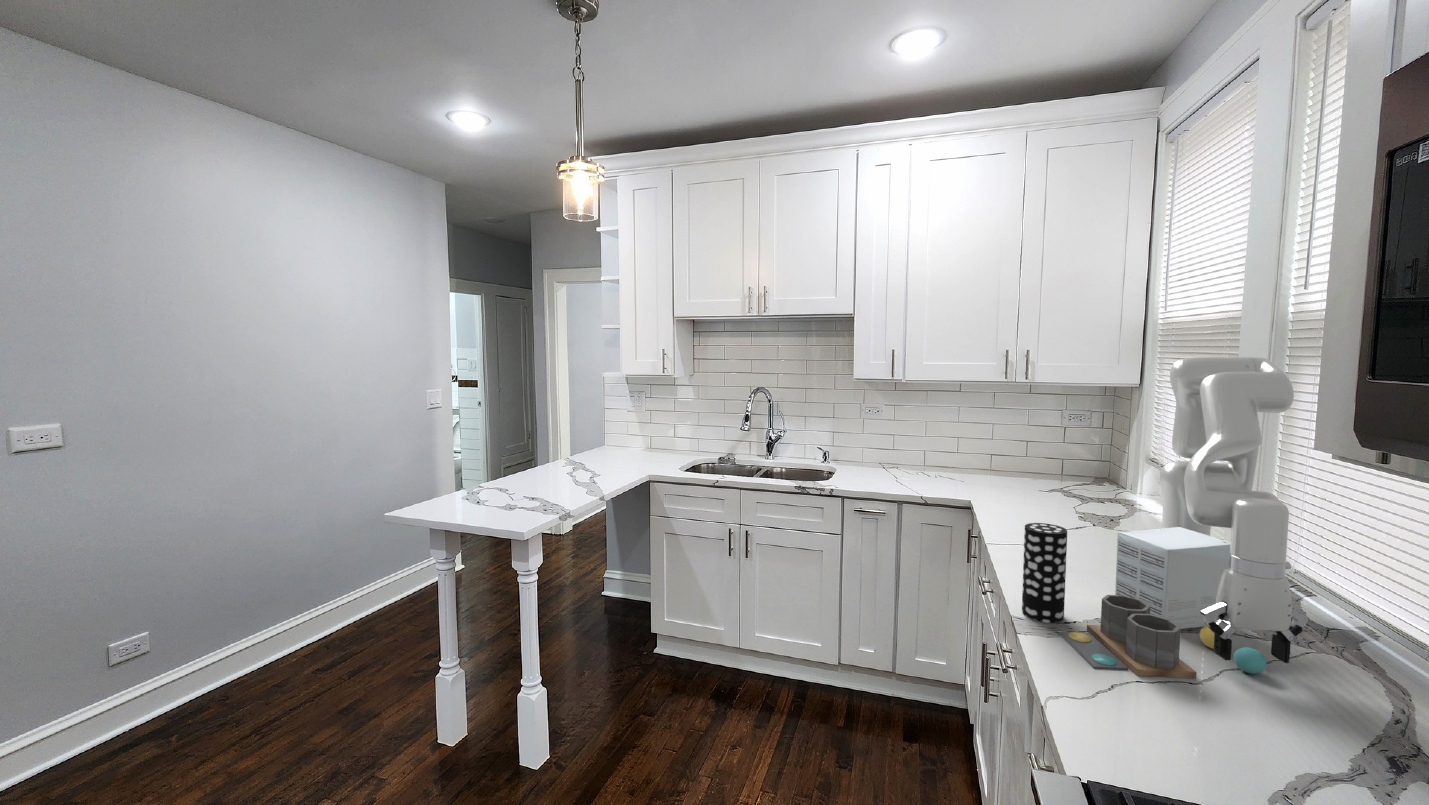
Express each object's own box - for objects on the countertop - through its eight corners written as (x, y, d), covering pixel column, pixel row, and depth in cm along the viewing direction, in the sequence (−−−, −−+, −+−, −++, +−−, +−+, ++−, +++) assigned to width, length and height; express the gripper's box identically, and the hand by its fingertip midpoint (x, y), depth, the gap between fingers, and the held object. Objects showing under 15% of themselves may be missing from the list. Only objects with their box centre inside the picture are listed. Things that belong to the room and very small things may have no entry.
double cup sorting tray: (1136, 631, 126) (1138, 594, 125) (1196, 678, 108) (1198, 634, 107) (1086, 630, 127) (1088, 592, 126) (1137, 675, 109) (1139, 632, 108)
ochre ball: (1217, 643, 120) (1218, 621, 120) (1234, 654, 116) (1235, 632, 116) (1193, 642, 121) (1194, 620, 121) (1209, 653, 116) (1210, 631, 116)
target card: (1089, 634, 125) (1089, 631, 125) (1128, 669, 111) (1128, 666, 111) (1058, 633, 125) (1059, 630, 125) (1094, 668, 111) (1094, 665, 111)
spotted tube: (1059, 609, 137) (1062, 524, 135) (1067, 625, 129) (1071, 535, 127) (1019, 604, 139) (1021, 521, 138) (1025, 620, 132) (1028, 532, 130)
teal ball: (1252, 666, 112) (1254, 643, 111) (1272, 679, 107) (1274, 655, 107) (1226, 665, 112) (1228, 642, 112) (1245, 678, 108) (1247, 654, 107)
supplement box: (1174, 600, 141) (1179, 525, 140) (1232, 625, 128) (1237, 543, 127) (1111, 606, 138) (1115, 530, 137) (1163, 632, 125) (1168, 549, 124)
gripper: (1291, 561, 111) (1285, 650, 112) (1190, 558, 112) (1186, 646, 114) (1328, 576, 103) (1321, 671, 104) (1220, 572, 105) (1214, 666, 106)
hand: (1250, 658), depth 109 cm, fingers open, 9 cm apart
